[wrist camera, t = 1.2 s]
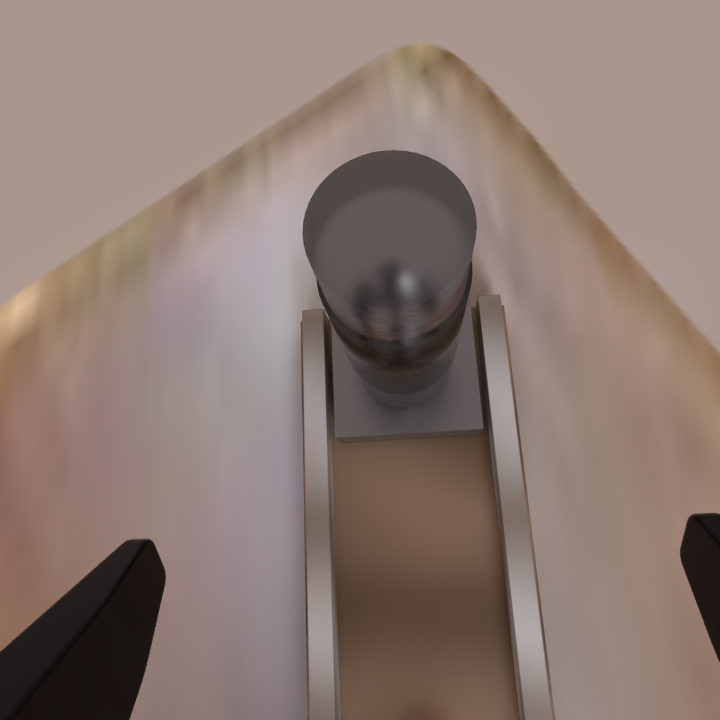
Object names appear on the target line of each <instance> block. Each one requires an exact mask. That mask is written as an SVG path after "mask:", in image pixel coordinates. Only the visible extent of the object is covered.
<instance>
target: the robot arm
mask: <svg viewBox="0 0 720 720" xmlns="http://www.w3.org/2000/svg"><path fill="white" fill-rule="evenodd" d="M680 557H681V562H682V565H683V568H684V571H685V573H686V576H687V579H688V581H689V584H690V587H691V589H692V592H693V595H694V597H695V600H696V603H697V605H698V608H699V611H700V613H701V616H702V619H703V621H704V624H705V627H706V629H707V632H708V635H709V638H710V640H711V643H712V645H713V648H714V650H715V653H716V655H717V658H718V660H719V662H720V514H717V513H702V514H693V515H691V516H690V517H689V518H688V521H687V524H686V528H685V532H684V536H683V540H682V544H681V549H680ZM165 580H166V574H165V569H164V566H163V564H162V561H161V559H160V557H159V554H158V552H157V549H156V547H155V544H154V543H153V541H152V540H150V539H131V540H127V541H125V542H124V543H123V544H122V545H120V546H119V547H118V548H117V549H116V550H115V551H114V552H112V553H111V554H110V555H109V556H108V557H107V558H106V559H105V560H103V561H102V562H101V563H100V564H99V565H98V566H97V567H96V568H94V569H93V570H92V571H91V572H90V573H89V574H88V575H86V576H85V577H84V578H83V579H82V580H81V581H80V582H79V583H77V584H76V585H75V586H74V587H73V588H72V589H71V590H69V591H68V592H67V593H66V594H65V595H64V596H63V597H62V598H60V599H59V600H58V601H57V602H56V603H55V604H54V605H53V606H51V607H50V608H49V609H48V610H47V611H46V612H45V613H43V614H42V615H41V616H40V617H39V618H38V619H37V620H36V621H34V622H33V623H32V624H31V625H30V626H29V627H28V628H26V629H25V630H24V631H23V632H22V633H21V634H20V635H19V636H17V637H16V638H15V639H14V640H13V641H12V642H11V643H10V644H8V645H7V646H6V647H5V648H4V649H3V650H2V651H0V720H129V719H130V716H131V713H132V710H133V707H134V704H135V701H136V698H137V695H138V692H139V689H140V686H141V683H142V680H143V676H144V673H145V670H146V666H147V662H148V658H149V654H150V649H151V645H152V640H153V636H154V631H155V627H156V622H157V618H158V613H159V609H160V604H161V600H162V596H163V591H164V587H165Z"/></svg>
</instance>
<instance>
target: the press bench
mask: <svg viewBox="0 0 720 720" xmlns="http://www.w3.org/2000/svg"><path fill="white" fill-rule="evenodd" d="M471 316H472V325H473V334H474V344H475V353H476V363H477V372H478V381H479V391H480V400H481V410H482V419H483V428H484V429H483V430H482V432H481V433H480V434H479V435H475V436H458V437H442V438H425V439H408V440H391V441H374V442H357V443H340V442H339V441H338V440H337V439H336V438H335V418H334V388H333V358H332V329H331V320H330V319H328V318H327V316H326V314H325V312H324V310H323V309H315V310H303V311H302V322H301V355H302V411H303V466H304V522H305V578H306V634H307V689H308V720H555V716H554V708H553V700H552V691H551V683H550V675H549V667H548V659H547V651H546V643H545V635H544V627H543V619H542V611H541V603H540V595H539V586H538V578H537V570H536V562H535V554H534V546H533V538H532V530H531V522H530V514H529V506H528V498H527V490H526V481H525V473H524V465H523V457H522V449H521V441H520V433H519V425H518V417H517V409H516V401H515V393H514V385H513V376H512V368H511V360H510V352H509V344H508V336H507V328H506V320H505V312H504V306H501V298H500V295H488V296H478V299H477V302H476V306H475V308H471Z"/></svg>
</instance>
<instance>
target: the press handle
mask: <svg viewBox="0 0 720 720" xmlns="http://www.w3.org/2000/svg"><path fill="white" fill-rule="evenodd" d="M476 229H477V225H476V214H475V209H474V205H473V202H472V199H471V197H470V195H469V193H468V191H467V189H466V188H465V186H464V185H463V183H462V182H461V181H460V179H459V178H458V177H457V176H456V175H455V174H454V173H453V172H452V171H450V170H449V169H448V168H447V167H445V166H444V165H442V164H441V163H439V162H437V161H436V160H434V159H431V158H429V157H427V156H424V155H421V154H417V153H413V152H408V151H397V150H391V151H380V152H373V153H369V154H366V155H362V156H360V157H357V158H355V159H352V160H350V161H349V162H347V163H345V164H343V165H342V166H340V167H339V168H337V169H336V170H334V171H333V172H332V173H331V174H330V175H329V176H328V177H327V178H325V180H324V181H323V182H322V183H321V184H320V185H319V187H318V188H317V190H316V191H315V193H314V194H313V196H312V198H311V200H310V202H309V204H308V207H307V210H306V213H305V217H304V222H303V241H304V247H305V251H306V255H307V257H308V259H309V262H310V264H311V267H312V269H313V271H314V273H315V276H316V278H317V286H318V291H319V295H320V298H321V300H322V303H323V305H324V307H325V309H326V312H327V314H328V316H329V318H330V320H331V329H332V358H333V388H334V418H335V438H336V439H337V440H338V441H339V442H340V443H357V442H374V441H391V440H408V439H425V438H442V437H458V436H475V435H479V434H480V433H481V432H482V430H483V429H484V428H483V419H482V410H481V400H480V391H479V381H478V372H477V363H476V353H475V344H474V334H473V325H472V316H471V306H470V297H469V291H470V287H471V281H472V262H471V258H472V253H473V248H474V243H475V238H476Z"/></svg>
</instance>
